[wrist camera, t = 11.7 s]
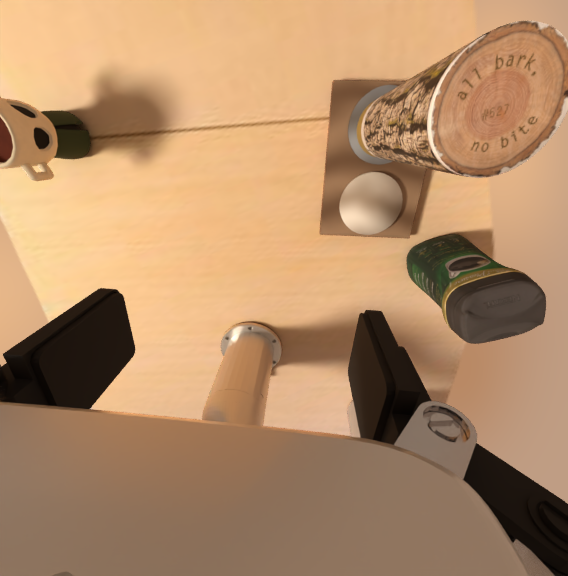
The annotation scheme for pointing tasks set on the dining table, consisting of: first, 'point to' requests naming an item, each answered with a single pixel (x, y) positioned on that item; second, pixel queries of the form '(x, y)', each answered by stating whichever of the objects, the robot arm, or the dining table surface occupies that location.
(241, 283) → the dining table surface
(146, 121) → the dining table surface
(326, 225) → the board
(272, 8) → the dining table surface
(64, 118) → the character mug
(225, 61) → the dining table surface
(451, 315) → the coffee jar
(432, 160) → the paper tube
